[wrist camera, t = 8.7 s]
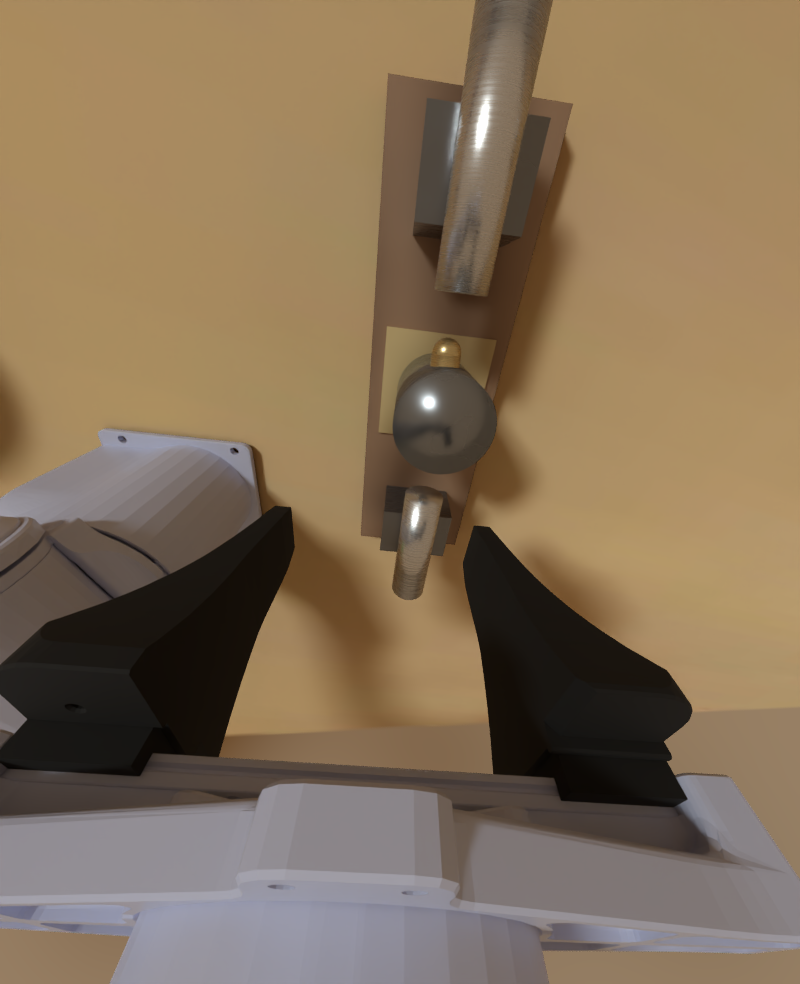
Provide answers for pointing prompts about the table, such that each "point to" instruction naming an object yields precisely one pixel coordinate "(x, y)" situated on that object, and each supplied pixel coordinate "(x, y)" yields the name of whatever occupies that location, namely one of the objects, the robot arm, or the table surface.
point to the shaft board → (435, 294)
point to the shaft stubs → (471, 215)
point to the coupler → (442, 413)
